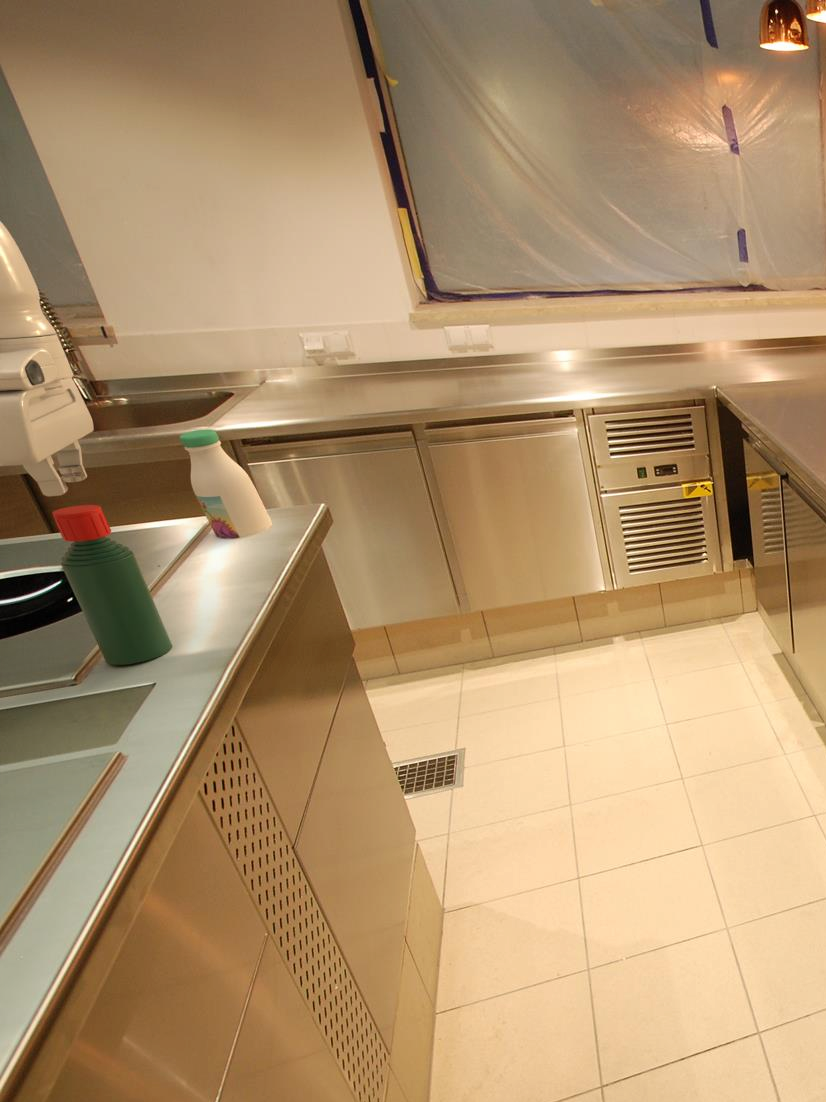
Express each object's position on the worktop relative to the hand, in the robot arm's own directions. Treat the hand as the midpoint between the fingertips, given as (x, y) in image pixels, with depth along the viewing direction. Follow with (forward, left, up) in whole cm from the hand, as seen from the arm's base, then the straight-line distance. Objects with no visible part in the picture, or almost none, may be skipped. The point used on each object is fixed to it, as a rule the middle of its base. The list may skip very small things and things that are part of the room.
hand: (67, 487), depth 98 cm
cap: (0, 0, -6) cm, 6 cm away
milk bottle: (+6, +42, -22) cm, 48 cm away
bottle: (0, 0, -22) cm, 22 cm away
